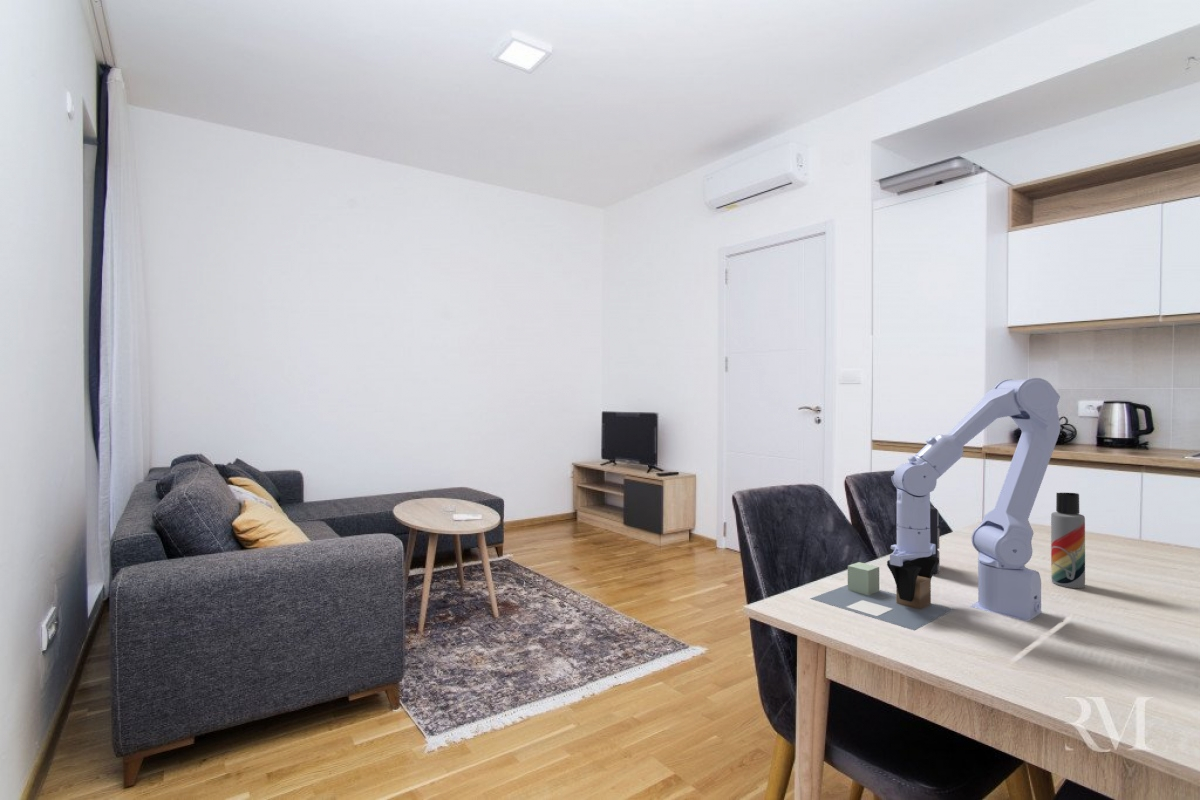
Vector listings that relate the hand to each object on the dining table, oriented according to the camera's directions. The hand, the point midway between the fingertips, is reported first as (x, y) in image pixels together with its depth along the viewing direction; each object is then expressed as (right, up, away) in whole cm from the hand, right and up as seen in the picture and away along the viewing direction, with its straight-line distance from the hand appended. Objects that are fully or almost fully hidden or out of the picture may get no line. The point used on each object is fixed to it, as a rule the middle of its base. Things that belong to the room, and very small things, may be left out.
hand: (913, 596), depth 112 cm
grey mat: (-6, -2, 0) cm, 7 cm away
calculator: (+16, -2, +26) cm, 31 cm away
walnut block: (0, -1, 0) cm, 1 cm away
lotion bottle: (+40, -2, +13) cm, 42 cm away
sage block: (-6, -1, +8) cm, 10 cm away
